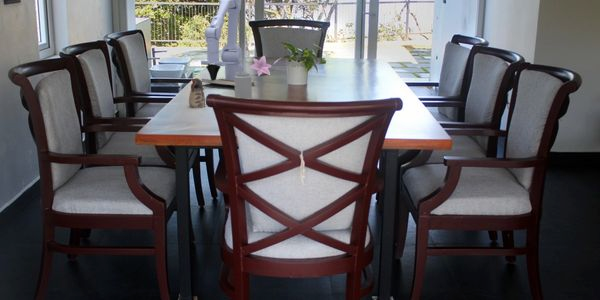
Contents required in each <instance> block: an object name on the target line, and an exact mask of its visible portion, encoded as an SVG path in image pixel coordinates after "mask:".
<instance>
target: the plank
mask: <svg viewBox="0 0 600 300" xmlns="http://www.w3.org/2000/svg"><path fill="white" fill-rule="evenodd" d="M201 81H202V83H206V84H219V85H229V86H235V85H234V82H229V81H219V80H217V79H216V80H211V78H210V79H209V78H207V79H206V78H201Z"/></svg>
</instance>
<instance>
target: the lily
mask: <svg viewBox="0 0 600 300" xmlns="http://www.w3.org/2000/svg"><path fill="white" fill-rule="evenodd" d="M252 61H253V62H254V63H253V64H251V65H250V66H249V68H250V69H253V70H256V71H257V76H258V77H259V76H260V75H262V74H263V73H264V74H266V75H268V76H271V72H270V70H269V68H271V67H272V65H271V64H270V63H267V60H266V56H265V55H263V56H261V57H260V59H257V58H255V57H254V58H252Z"/></svg>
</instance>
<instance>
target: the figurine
mask: <svg viewBox="0 0 600 300" xmlns="http://www.w3.org/2000/svg"><path fill="white" fill-rule="evenodd" d="M191 81H192V83H191V84H190V92H189V95H188V96H189V98H188V106H189V107H190V108H193V107H201V108H205V107H206V106H205V105H206V104H207V103H206V104H205V100H206V97H205V92H204V90H205V87H203V86H202V85H203V82H202V79H200V78H199V77H196V78H191Z"/></svg>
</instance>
